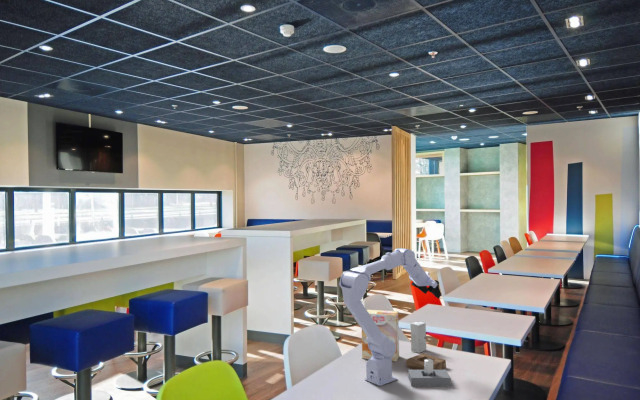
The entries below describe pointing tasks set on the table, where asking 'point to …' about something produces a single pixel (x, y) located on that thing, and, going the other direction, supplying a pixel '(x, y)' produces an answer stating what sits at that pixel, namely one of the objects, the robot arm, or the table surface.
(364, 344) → the coffeecake box
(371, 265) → the robot arm
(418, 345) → the skincare box
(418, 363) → the walnut seat block
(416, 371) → the bored beam
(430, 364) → the metal axle
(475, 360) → the table surface
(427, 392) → the table surface
